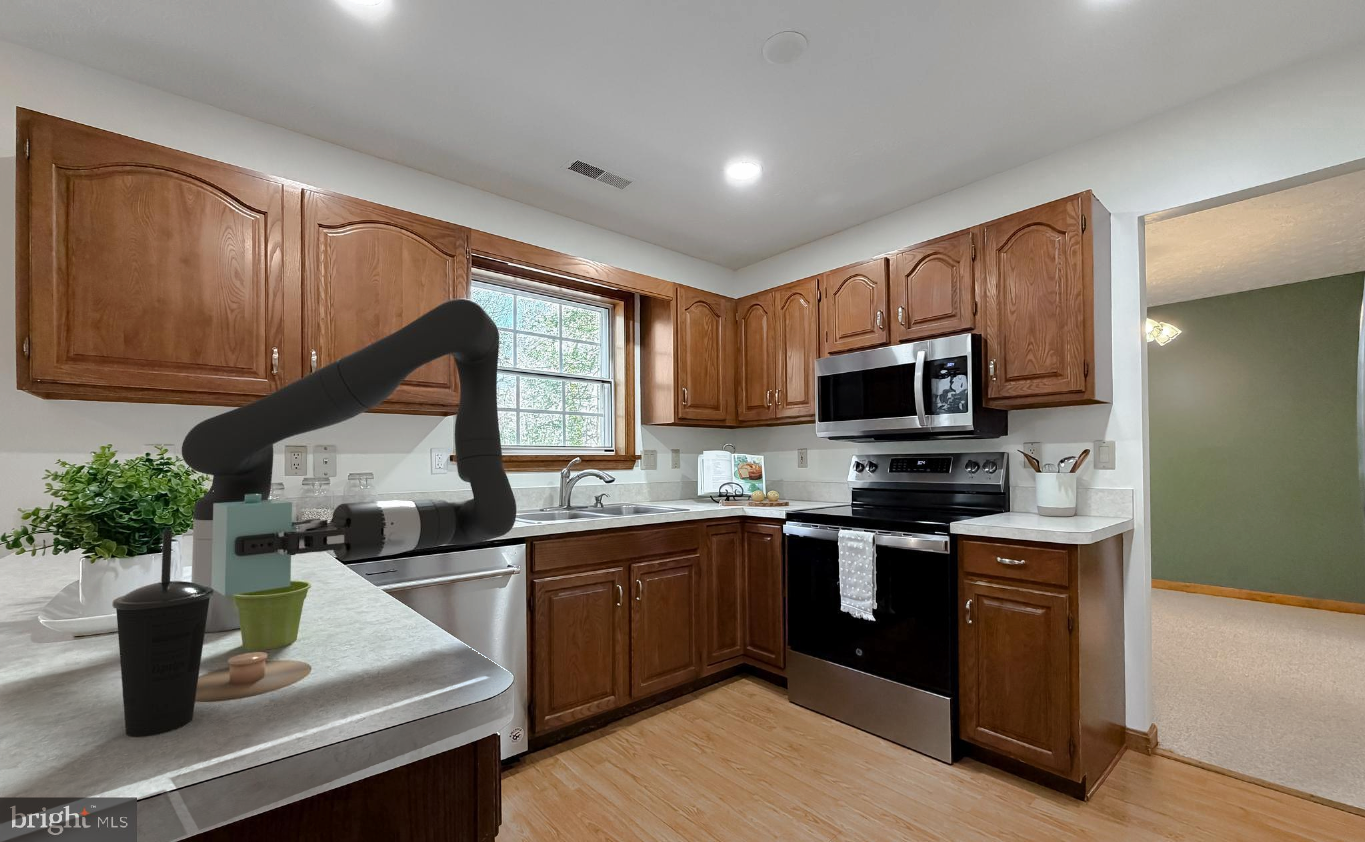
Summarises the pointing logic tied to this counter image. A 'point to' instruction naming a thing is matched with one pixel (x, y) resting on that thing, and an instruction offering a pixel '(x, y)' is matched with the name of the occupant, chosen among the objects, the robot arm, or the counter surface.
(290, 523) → the teal flask block
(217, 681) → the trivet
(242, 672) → the ramekin
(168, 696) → the drinking cup
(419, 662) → the counter surface
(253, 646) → the plant pot
